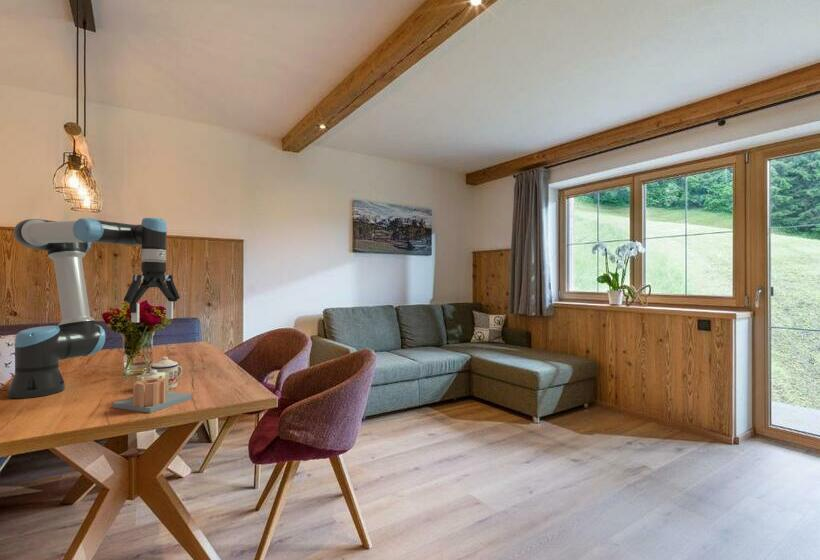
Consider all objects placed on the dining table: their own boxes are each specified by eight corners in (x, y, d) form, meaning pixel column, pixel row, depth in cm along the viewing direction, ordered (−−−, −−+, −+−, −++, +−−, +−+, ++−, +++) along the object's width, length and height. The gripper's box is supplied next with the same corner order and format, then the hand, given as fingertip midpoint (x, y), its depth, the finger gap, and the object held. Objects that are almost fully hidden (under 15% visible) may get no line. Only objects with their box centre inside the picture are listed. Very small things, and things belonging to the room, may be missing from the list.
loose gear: (126, 405, 128) (126, 383, 128) (151, 397, 136) (151, 377, 136) (147, 408, 125) (147, 385, 125) (171, 400, 134) (172, 379, 134)
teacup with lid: (162, 391, 148) (162, 360, 148) (144, 389, 151) (144, 358, 151) (189, 384, 160) (190, 354, 159) (172, 381, 163) (173, 352, 162)
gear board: (111, 407, 130) (111, 376, 130) (155, 393, 145) (156, 366, 145) (150, 413, 125) (150, 381, 125) (192, 398, 141) (192, 370, 141)
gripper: (128, 259, 131) (127, 324, 132) (190, 262, 155) (189, 317, 155) (111, 259, 134) (110, 323, 134) (175, 262, 157) (174, 316, 158)
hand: (153, 320), depth 145 cm, fingers open, 13 cm apart
